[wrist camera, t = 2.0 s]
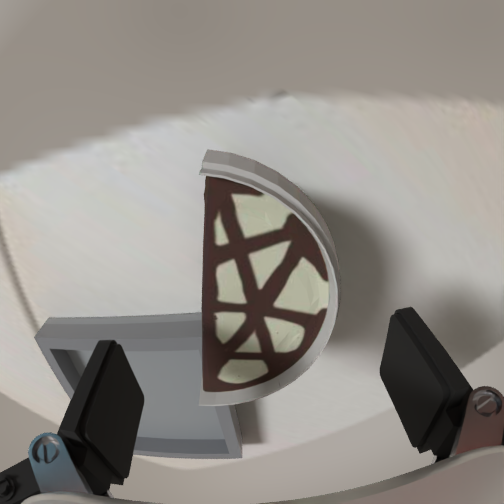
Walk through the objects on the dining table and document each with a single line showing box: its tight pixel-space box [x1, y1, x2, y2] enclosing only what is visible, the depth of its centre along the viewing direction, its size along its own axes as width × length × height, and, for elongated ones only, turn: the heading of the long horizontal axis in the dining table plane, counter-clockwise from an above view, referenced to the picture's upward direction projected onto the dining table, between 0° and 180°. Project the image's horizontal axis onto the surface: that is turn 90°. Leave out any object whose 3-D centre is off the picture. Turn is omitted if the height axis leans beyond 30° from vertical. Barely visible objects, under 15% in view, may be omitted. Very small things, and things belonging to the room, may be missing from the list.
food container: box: [199, 150, 340, 406], centre depth 17 cm, size 12×6×10 cm, turn 175°
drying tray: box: [34, 313, 242, 459], centre depth 26 cm, size 16×18×3 cm
